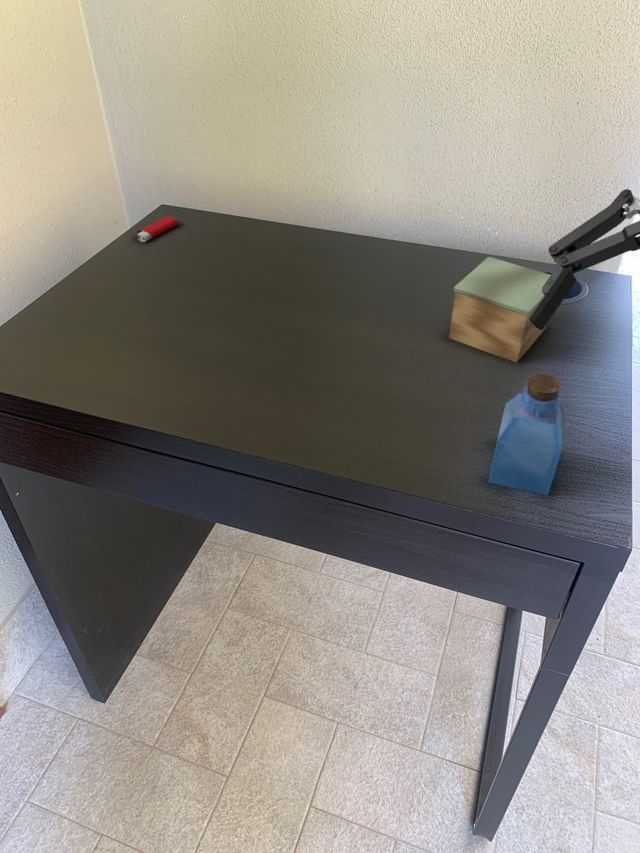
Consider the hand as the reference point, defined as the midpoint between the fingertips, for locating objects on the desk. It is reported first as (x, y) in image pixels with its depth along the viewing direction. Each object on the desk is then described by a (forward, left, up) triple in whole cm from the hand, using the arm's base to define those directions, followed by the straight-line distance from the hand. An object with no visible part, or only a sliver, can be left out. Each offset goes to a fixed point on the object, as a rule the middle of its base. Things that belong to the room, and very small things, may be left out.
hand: (588, 353), depth 71 cm
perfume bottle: (0, +8, -12) cm, 14 cm away
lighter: (+78, +9, -12) cm, 79 cm away
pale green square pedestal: (+19, -11, -12) cm, 25 cm away
